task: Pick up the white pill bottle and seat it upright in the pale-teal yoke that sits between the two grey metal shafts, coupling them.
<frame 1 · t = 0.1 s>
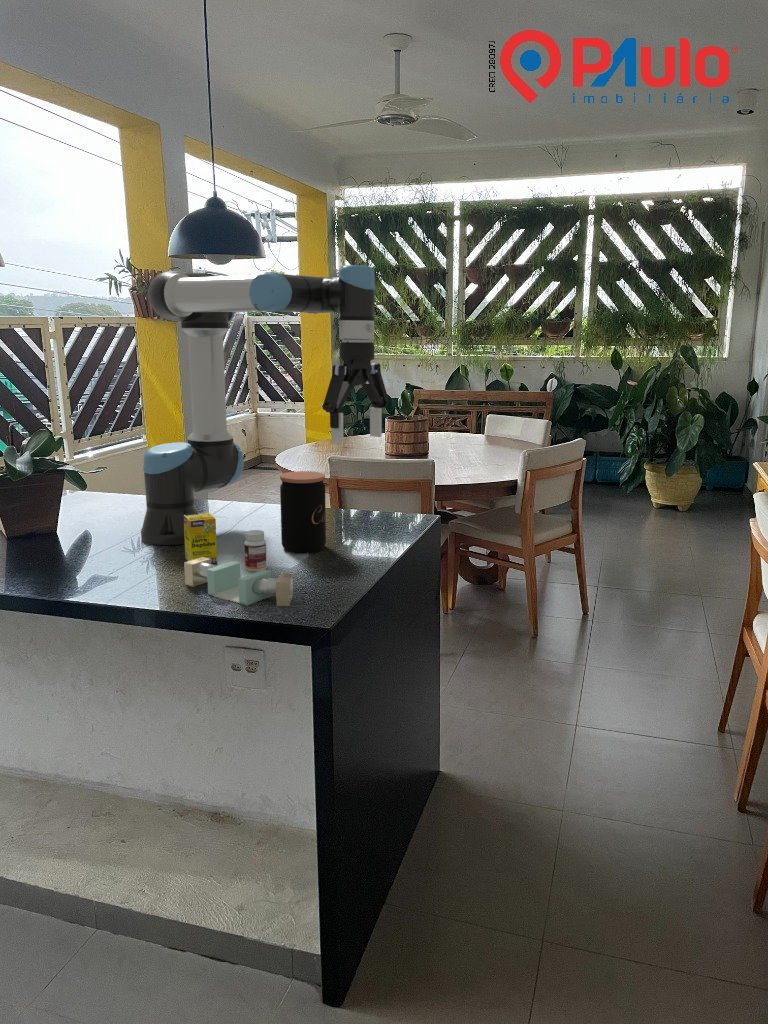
hand: (357, 440, 168), 28 cm above the countertop, fingers open, 13 cm apart
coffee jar: (303, 548, 185), on the countertop
supplement box: (201, 564, 172), on the countertop
yoke: (240, 595, 152), on the countertop
shaft b: (272, 601, 149), on the countertop
shaft a: (206, 585, 158), on the countertop
pill bottle: (255, 569, 169), on the countertop
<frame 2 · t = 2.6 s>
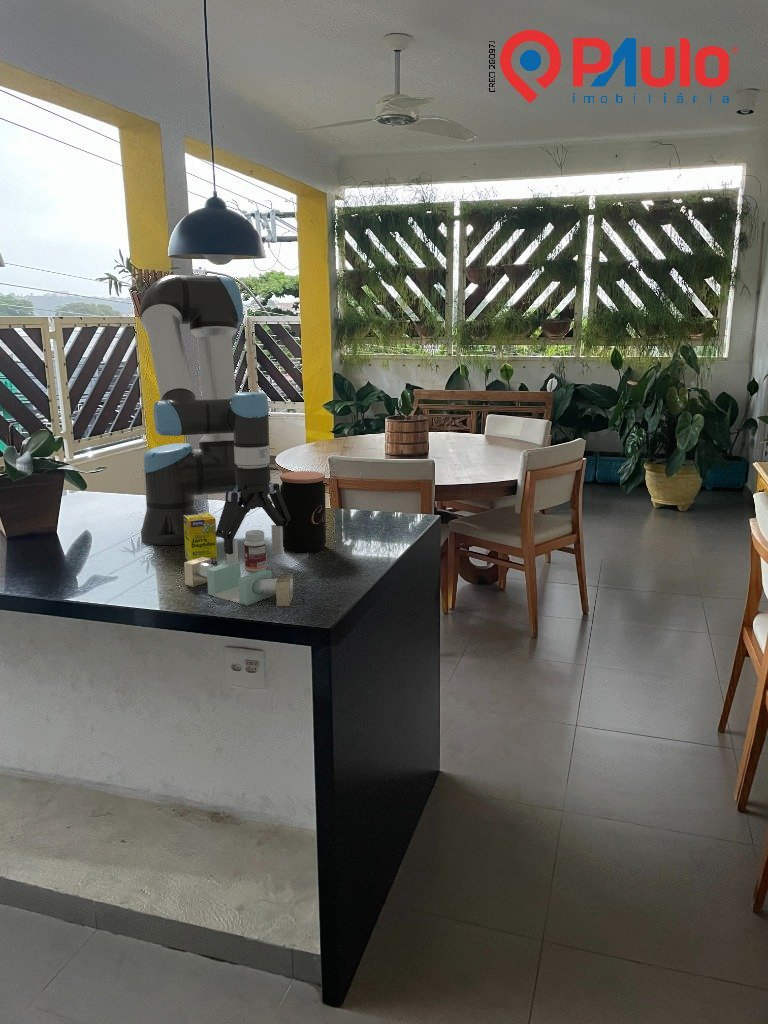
hand: (256, 560, 168), 2 cm above the countertop, fingers open, 13 cm apart
nothing on the countertop moved.
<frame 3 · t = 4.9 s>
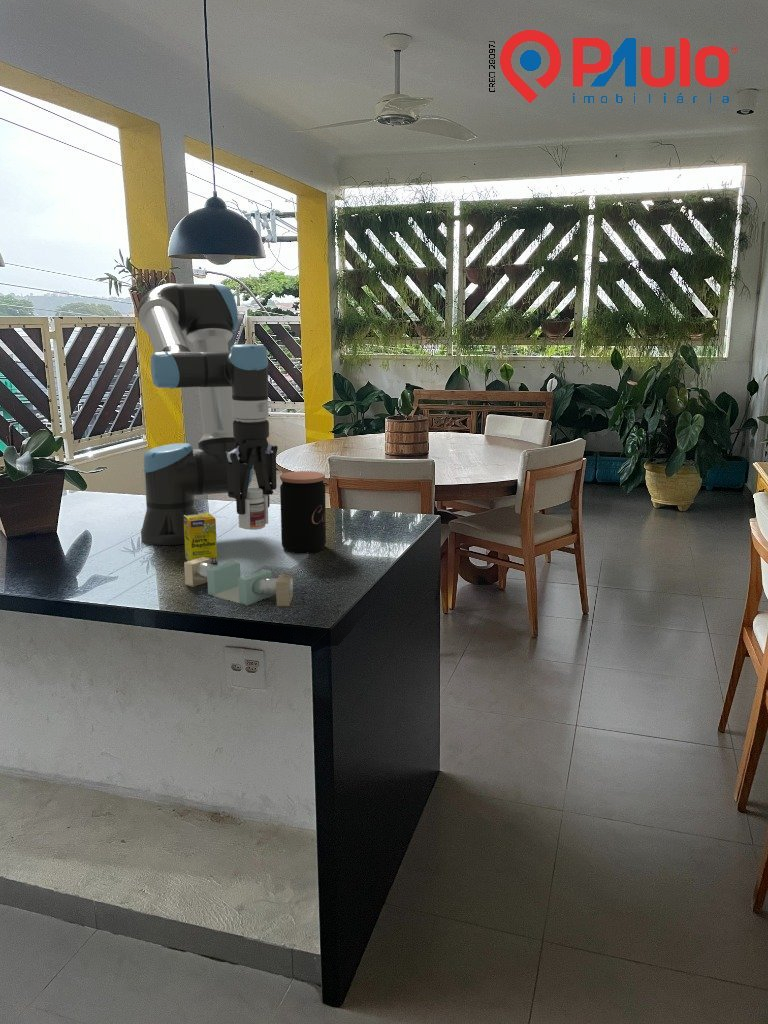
hand: (253, 525, 167), 10 cm above the countertop, fingers closed on pill bottle, 5 cm apart
pill bottle: (254, 528, 167), point 9 cm above the countertop, touching gripper
everything else where it was.
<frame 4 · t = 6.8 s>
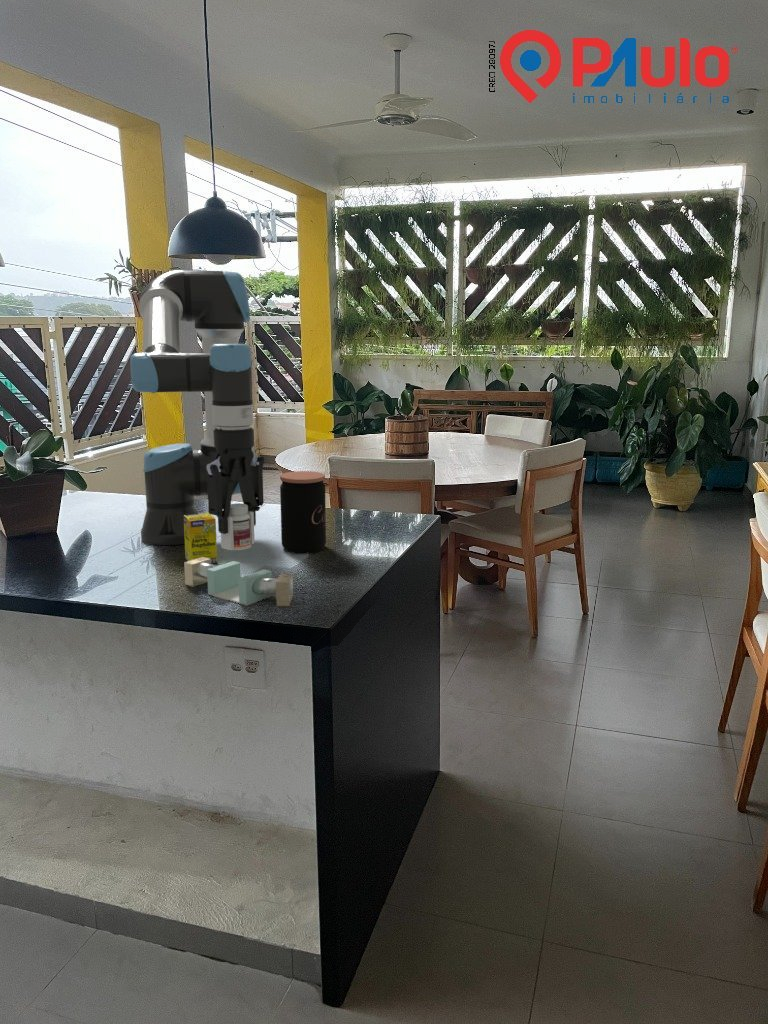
hand: (238, 545, 149), 10 cm above the countertop, fingers closed on pill bottle, 5 cm apart
pill bottle: (239, 548, 149), point 10 cm above the countertop, touching gripper
everything else where it was.
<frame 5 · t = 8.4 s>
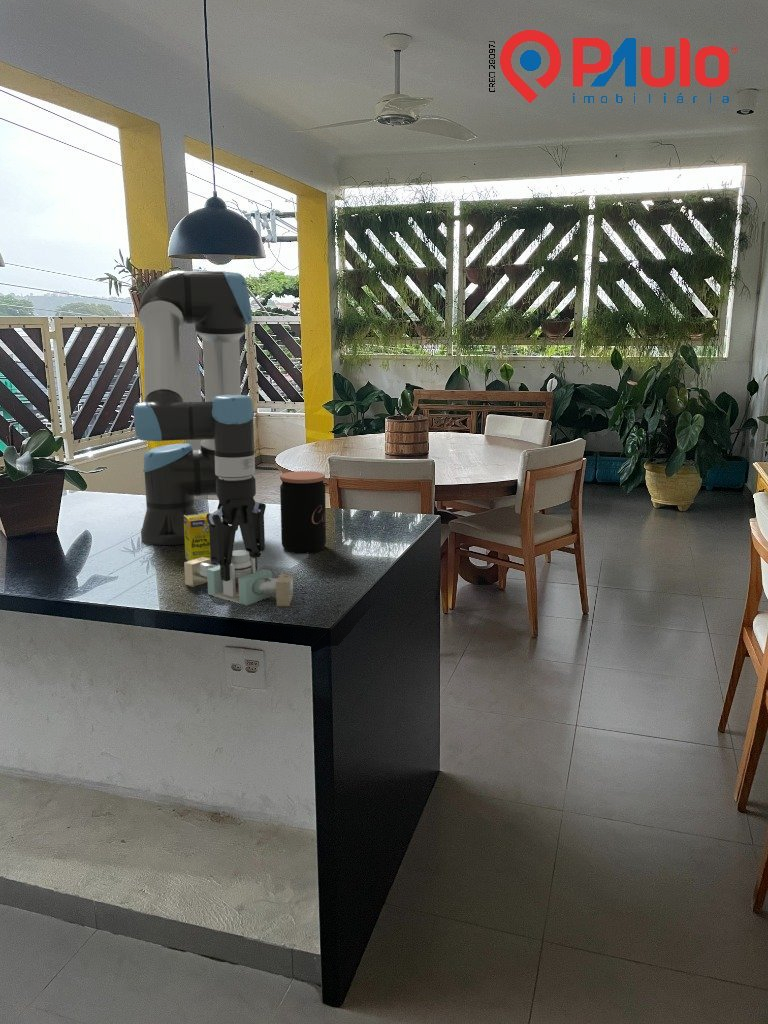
hand: (240, 591, 152), 1 cm above the countertop, fingers closed on pill bottle, 5 cm apart
pill bottle: (240, 594, 152), resting on yoke, touching gripper
everything else where it was.
when the fingers open (1 cm above the countertop, at t = 9.0 s): pill bottle stays where it is, resting on yoke.
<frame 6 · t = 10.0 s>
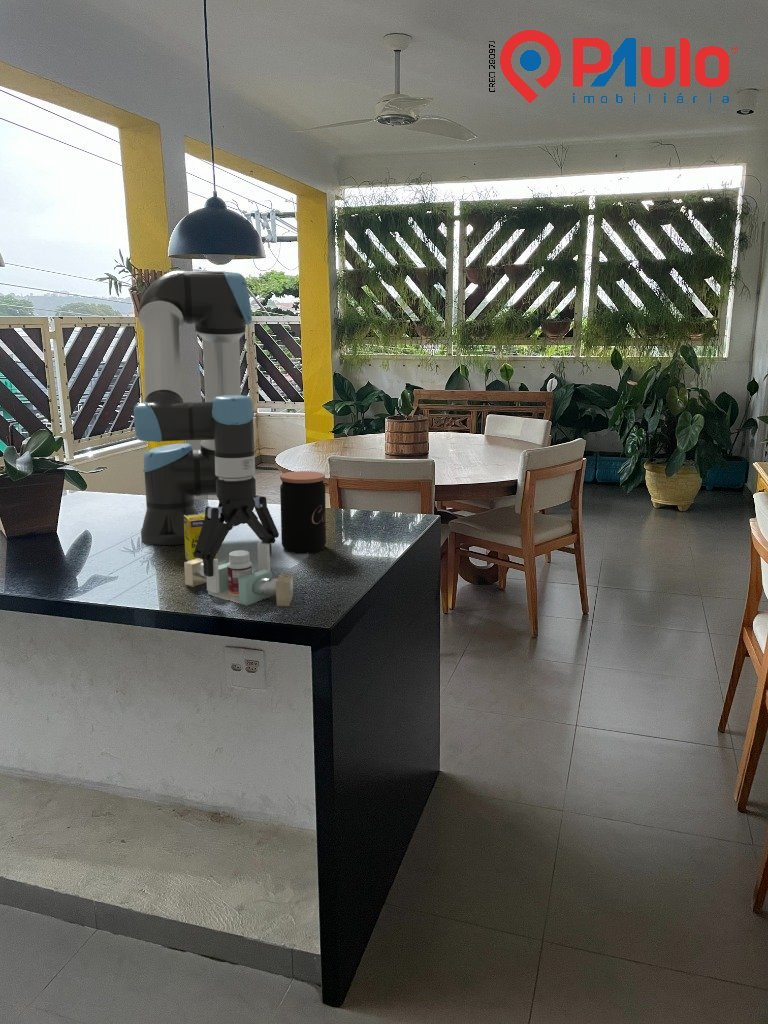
hand: (239, 582, 151), 3 cm above the countertop, fingers open, 13 cm apart
pill bottle: (240, 594, 152), resting on yoke
everything else where it was.
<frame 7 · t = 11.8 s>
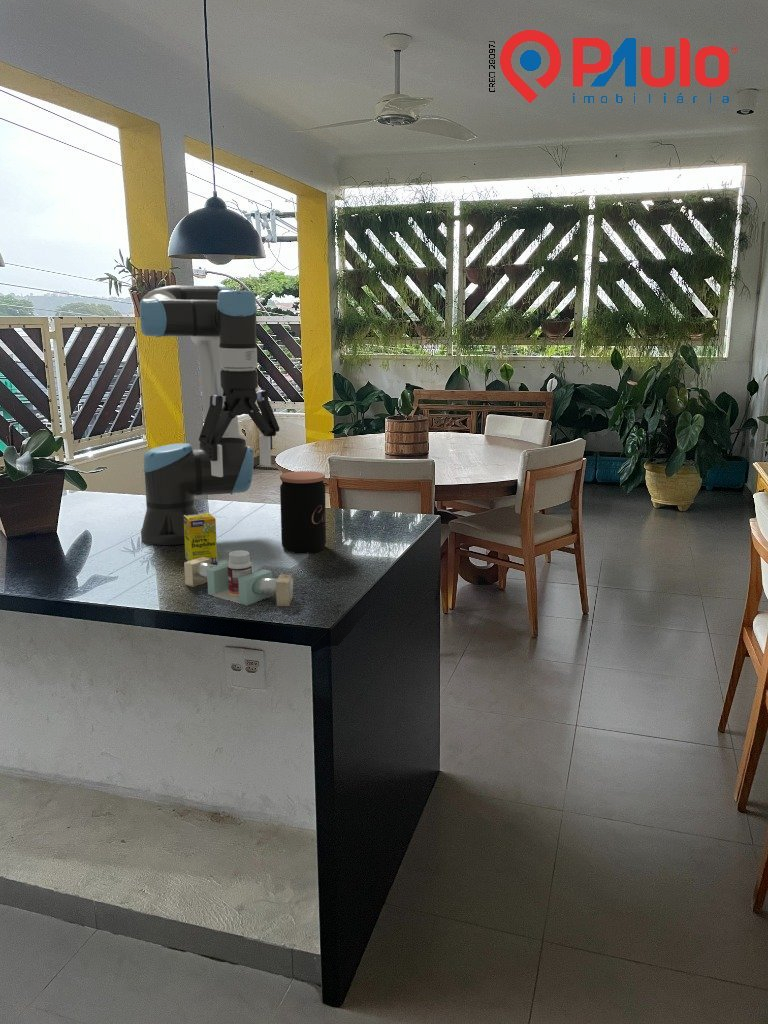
hand: (242, 470, 161), 22 cm above the countertop, fingers open, 13 cm apart
nothing on the countertop moved.
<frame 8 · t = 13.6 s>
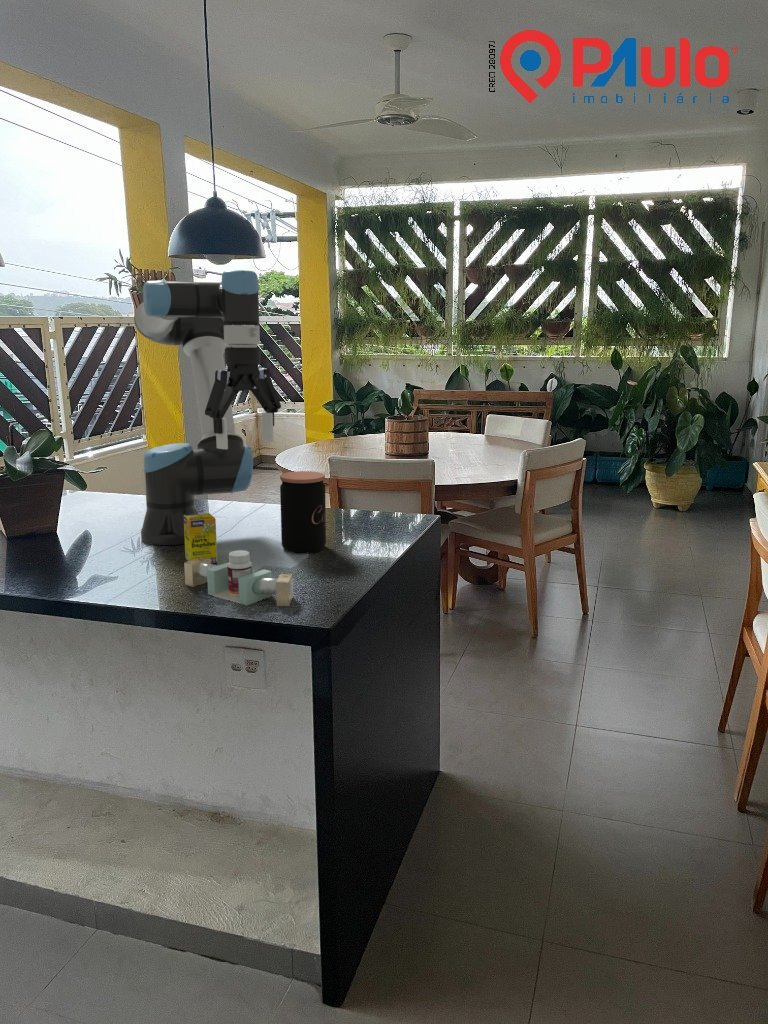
hand: (245, 445, 168), 27 cm above the countertop, fingers open, 13 cm apart
nothing on the countertop moved.
at the end: pill bottle 0.2 cm off-centre on the yoke, point 0.2 cm above the yoke's base; pill bottle tilted 0°; the gripper is holding nothing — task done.
